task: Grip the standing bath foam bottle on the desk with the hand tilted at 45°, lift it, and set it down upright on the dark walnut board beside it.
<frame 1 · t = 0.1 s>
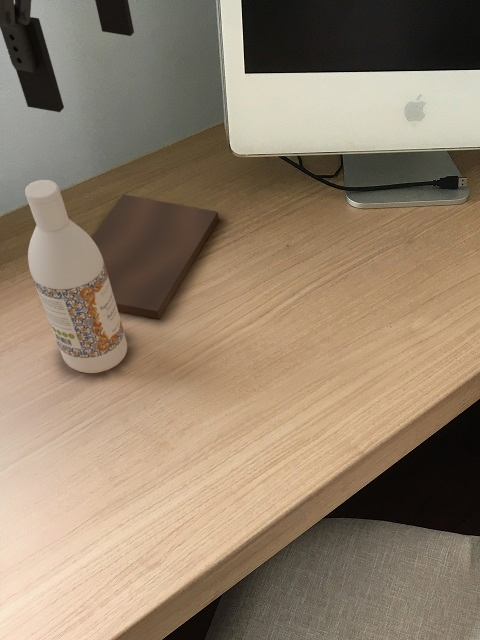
hand: (84, 67, 66), 29 cm above the table, tool pointing down, fingers open, 13 cm apart
bath foam: (96, 354, 87), on the table
walnut board: (141, 257, 96), on the table
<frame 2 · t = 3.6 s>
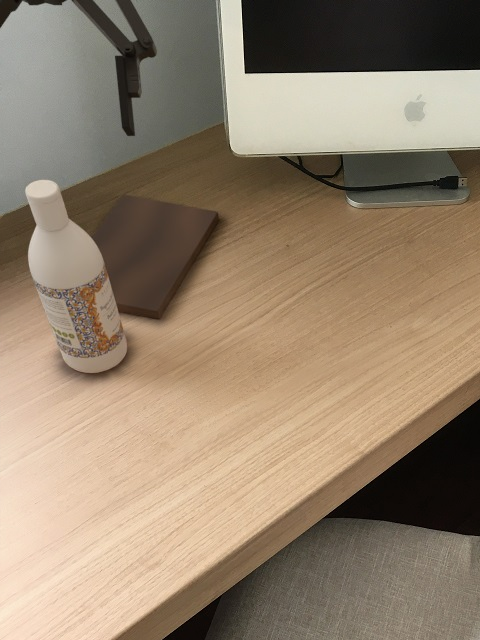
hand: (57, 133, 77), 19 cm above the table, tool tilted 45°, fingers open, 13 cm apart
nothing on the table moved.
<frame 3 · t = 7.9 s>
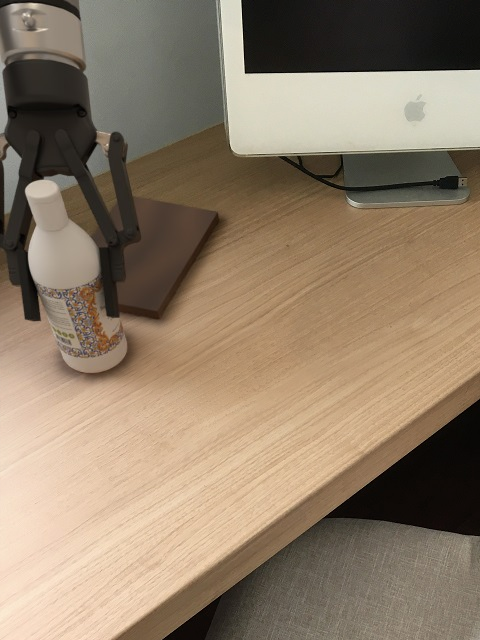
hand: (73, 318, 78), 8 cm above the table, tool tilted 45°, fingers closed on bath foam, 7 cm apart
bath foam: (96, 354, 87), on the table, touching gripper
when the fingers open (9 cm above the table, at t = 17.0 s): bath foam stays where it is, resting on walnut board.
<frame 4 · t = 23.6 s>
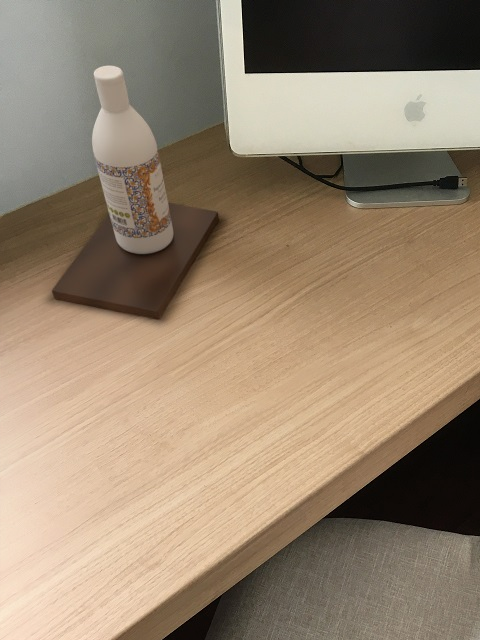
bath foam: (146, 240, 97), point 1 cm above the table, touching walnut board
at the end: bath foam inside the target area on the walnut board (2.1 cm from its centre), point 1.0 cm above the walnut board's base; bath foam tilted 0°; the gripper is holding nothing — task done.
